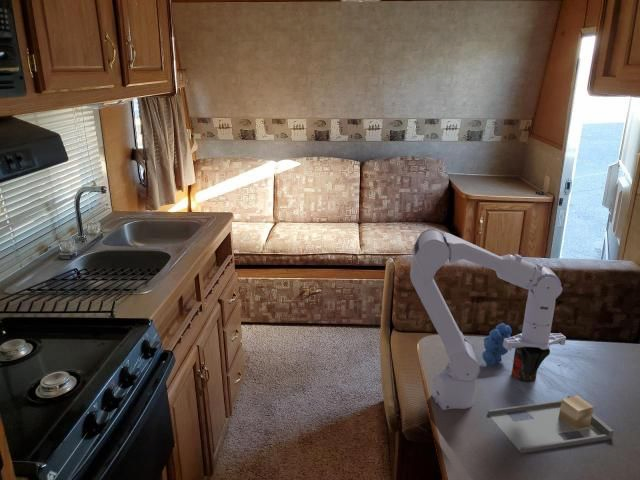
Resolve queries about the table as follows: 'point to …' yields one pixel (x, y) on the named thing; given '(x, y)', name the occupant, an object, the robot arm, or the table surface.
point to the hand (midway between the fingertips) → (529, 373)
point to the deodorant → (520, 365)
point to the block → (576, 412)
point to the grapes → (496, 344)
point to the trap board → (545, 427)
